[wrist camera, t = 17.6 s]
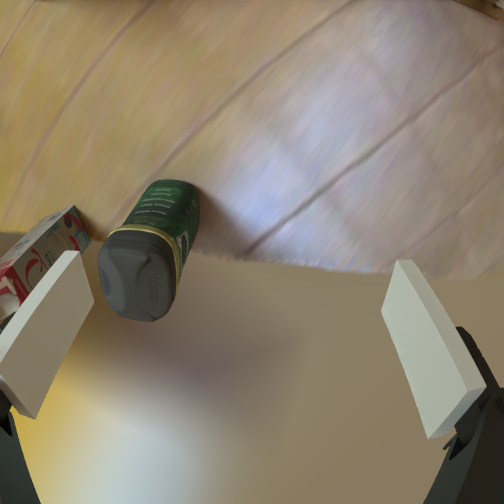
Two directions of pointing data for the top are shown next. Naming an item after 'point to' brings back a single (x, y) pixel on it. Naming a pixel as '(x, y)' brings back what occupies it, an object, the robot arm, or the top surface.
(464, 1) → the dish rack
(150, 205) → the coffee jar
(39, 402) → the robot arm
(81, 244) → the juice carton
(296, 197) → the top surface
